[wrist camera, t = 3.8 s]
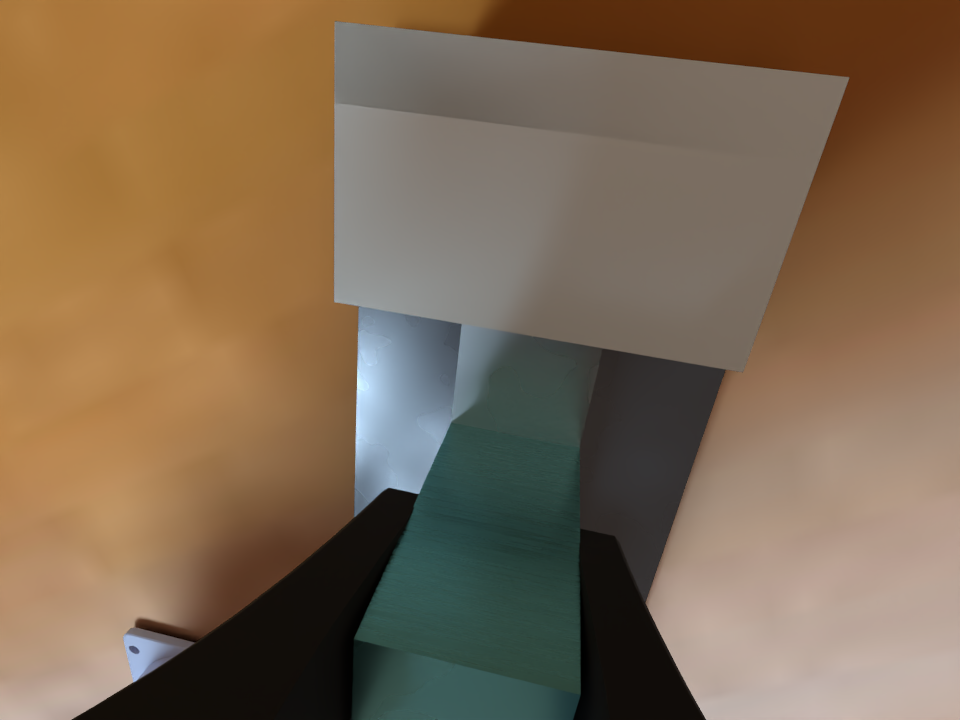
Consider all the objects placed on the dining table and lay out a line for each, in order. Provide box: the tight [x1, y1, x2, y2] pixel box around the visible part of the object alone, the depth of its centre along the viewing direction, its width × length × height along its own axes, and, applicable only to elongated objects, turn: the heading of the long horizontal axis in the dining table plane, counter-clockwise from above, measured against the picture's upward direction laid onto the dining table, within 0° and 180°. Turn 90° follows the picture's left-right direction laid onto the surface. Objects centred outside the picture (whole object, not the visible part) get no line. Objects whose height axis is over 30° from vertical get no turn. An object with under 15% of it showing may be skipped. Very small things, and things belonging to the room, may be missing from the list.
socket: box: [334, 21, 850, 372], centre depth 10 cm, size 4×7×5 cm, turn 83°
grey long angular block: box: [354, 306, 726, 602], centre depth 15 cm, size 25×10×6 cm, turn 173°
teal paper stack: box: [352, 324, 603, 720], centre depth 11 cm, size 16×3×8 cm, turn 173°
